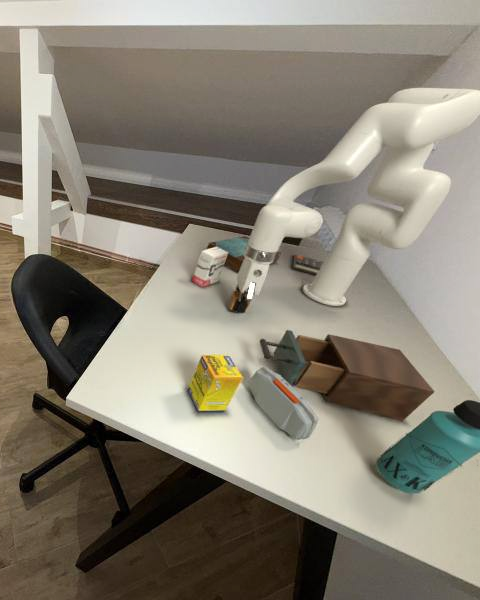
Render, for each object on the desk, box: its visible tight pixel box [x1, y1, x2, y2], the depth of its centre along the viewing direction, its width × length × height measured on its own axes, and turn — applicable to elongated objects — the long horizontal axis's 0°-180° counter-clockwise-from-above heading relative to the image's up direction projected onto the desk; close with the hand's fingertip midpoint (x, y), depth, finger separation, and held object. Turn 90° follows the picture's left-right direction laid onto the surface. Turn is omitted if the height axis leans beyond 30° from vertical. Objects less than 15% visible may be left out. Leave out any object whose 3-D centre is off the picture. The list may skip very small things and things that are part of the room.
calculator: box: [292, 254, 324, 276], centre depth 126 cm, size 12×1×15 cm
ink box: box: [191, 247, 228, 288], centre depth 106 cm, size 8×5×12 cm, turn 123°
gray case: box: [247, 366, 320, 441], centre depth 62 cm, size 14×3×8 cm, turn 17°
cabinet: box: [321, 333, 435, 422], centre depth 69 cm, size 15×13×10 cm
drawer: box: [259, 329, 346, 394], centre depth 72 cm, size 19×11×8 cm, turn 74°
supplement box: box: [187, 354, 244, 414], centre depth 63 cm, size 6×6×11 cm
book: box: [206, 235, 282, 273], centre depth 127 cm, size 23×18×5 cm
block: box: [228, 290, 252, 314], centre depth 94 cm, size 4×4×4 cm
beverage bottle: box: [375, 399, 480, 495], centre depth 49 cm, size 6×7×20 cm
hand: (237, 306), depth 95 cm, fingers closed on block, 4 cm apart
